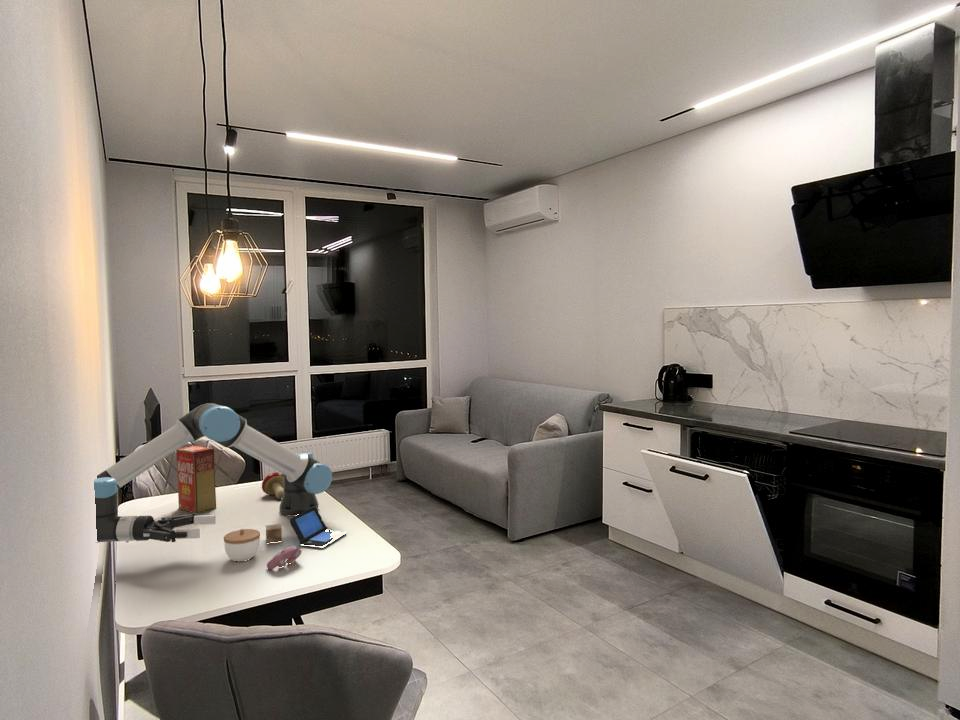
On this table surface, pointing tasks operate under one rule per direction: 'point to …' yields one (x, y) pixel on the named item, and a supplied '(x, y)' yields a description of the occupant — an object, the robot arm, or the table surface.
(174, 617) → the table surface
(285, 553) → the video game controller
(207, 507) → the food packaging
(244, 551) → the lidded jar
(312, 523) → the handheld game console
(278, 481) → the decorative mushroom
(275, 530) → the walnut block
